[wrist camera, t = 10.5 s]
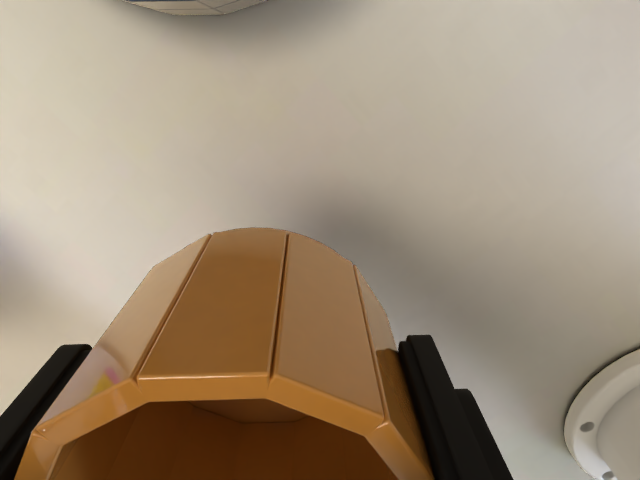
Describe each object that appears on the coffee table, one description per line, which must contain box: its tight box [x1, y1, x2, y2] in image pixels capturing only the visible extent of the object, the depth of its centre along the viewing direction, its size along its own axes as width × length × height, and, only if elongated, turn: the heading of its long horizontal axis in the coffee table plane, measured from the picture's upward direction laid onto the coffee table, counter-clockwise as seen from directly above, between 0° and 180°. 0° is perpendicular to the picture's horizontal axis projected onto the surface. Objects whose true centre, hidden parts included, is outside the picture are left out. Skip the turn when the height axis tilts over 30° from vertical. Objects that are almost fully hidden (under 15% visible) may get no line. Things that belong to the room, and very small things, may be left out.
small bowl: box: [14, 227, 436, 480], centre depth 10 cm, size 7×7×6 cm
